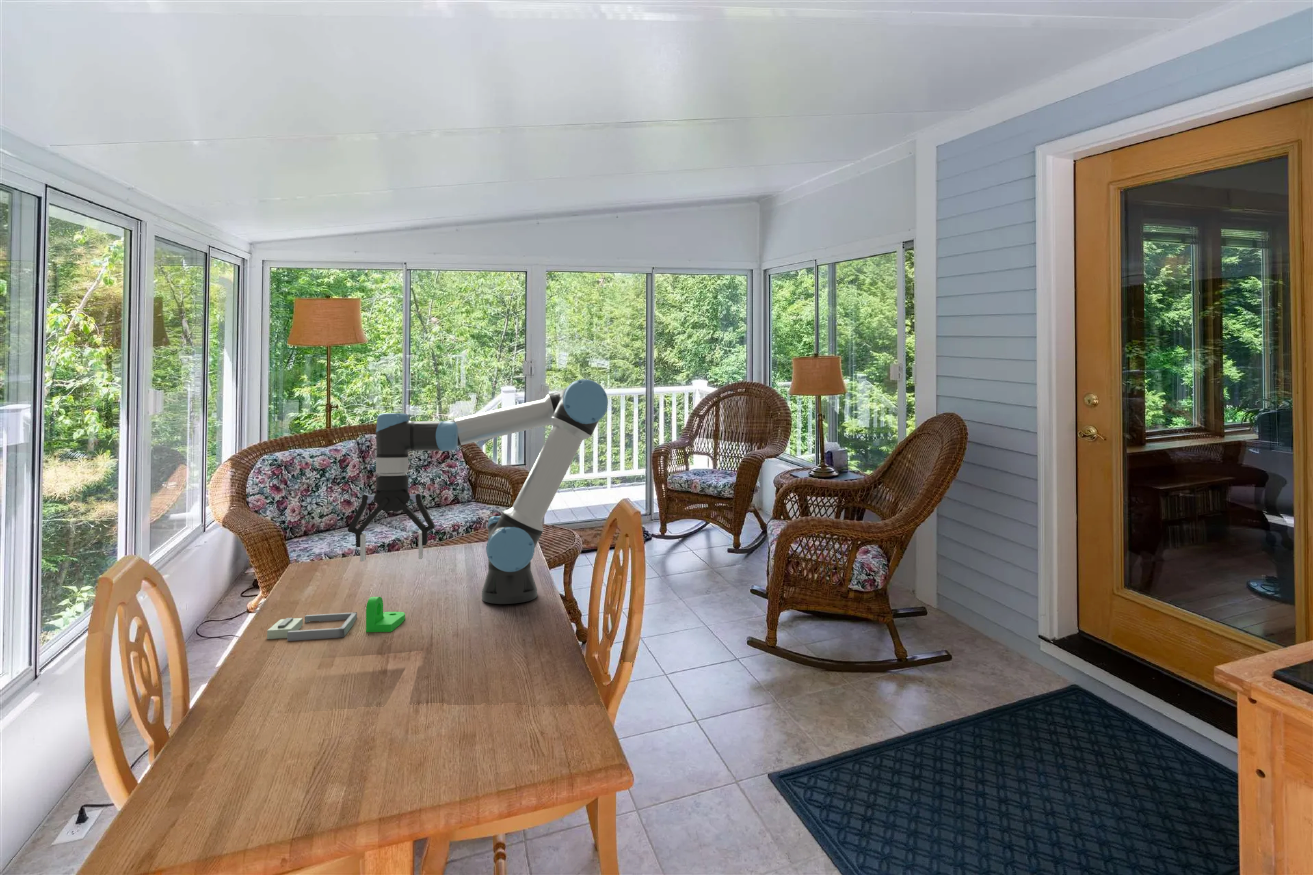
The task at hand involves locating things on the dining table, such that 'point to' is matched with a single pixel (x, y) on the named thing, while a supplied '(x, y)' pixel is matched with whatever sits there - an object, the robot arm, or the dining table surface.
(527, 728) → the dining table surface
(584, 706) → the dining table surface
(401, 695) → the dining table surface
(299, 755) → the dining table surface
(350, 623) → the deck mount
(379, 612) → the mechanical part
